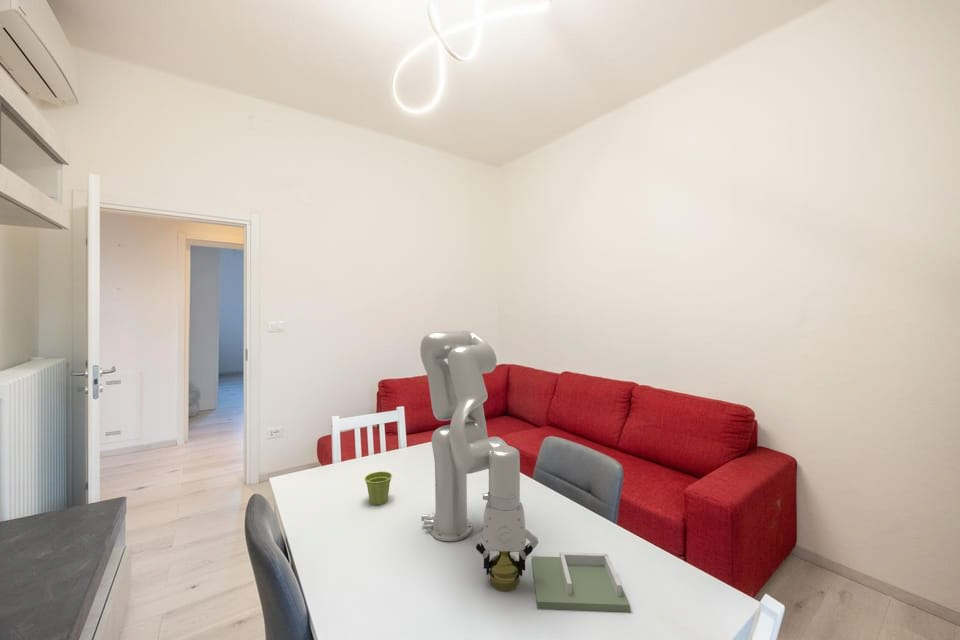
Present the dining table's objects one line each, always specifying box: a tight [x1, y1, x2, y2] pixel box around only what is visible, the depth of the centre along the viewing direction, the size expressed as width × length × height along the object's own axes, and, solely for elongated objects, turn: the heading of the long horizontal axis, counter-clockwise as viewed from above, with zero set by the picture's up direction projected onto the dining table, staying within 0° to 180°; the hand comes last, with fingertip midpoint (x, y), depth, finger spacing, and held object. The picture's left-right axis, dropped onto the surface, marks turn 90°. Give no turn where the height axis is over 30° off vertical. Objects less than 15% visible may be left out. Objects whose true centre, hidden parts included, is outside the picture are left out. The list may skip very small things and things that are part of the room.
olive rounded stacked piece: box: [489, 551, 521, 592], centre depth 92 cm, size 7×7×10 cm
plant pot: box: [364, 471, 393, 506], centre depth 134 cm, size 9×9×9 cm
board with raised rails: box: [531, 551, 631, 613], centre depth 91 cm, size 20×16×4 cm
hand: (504, 571), depth 92 cm, fingers closed on olive rounded stacked piece, 7 cm apart
